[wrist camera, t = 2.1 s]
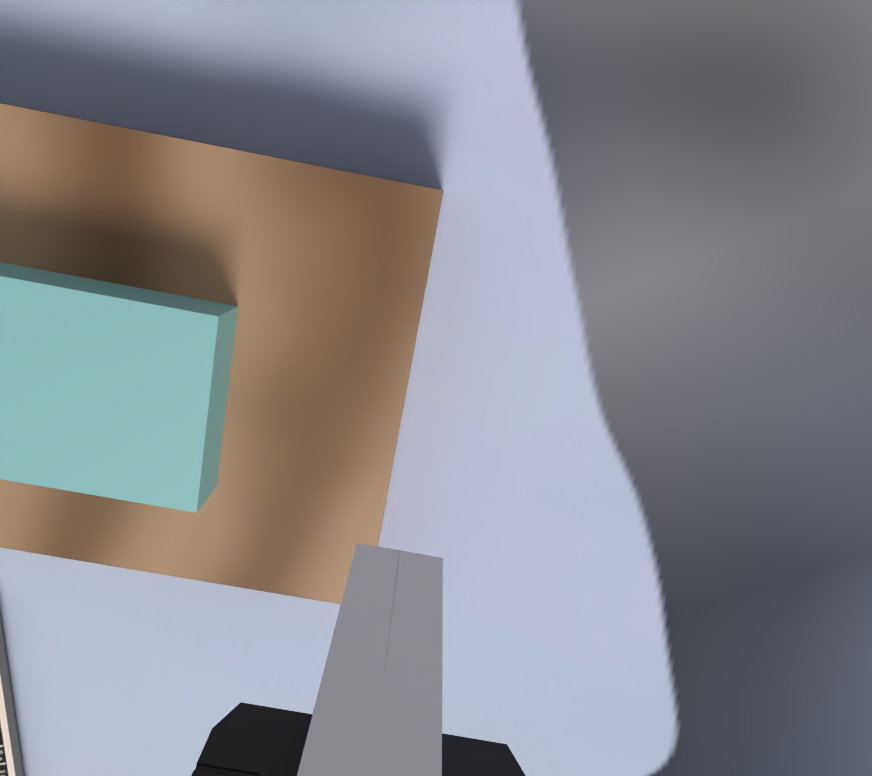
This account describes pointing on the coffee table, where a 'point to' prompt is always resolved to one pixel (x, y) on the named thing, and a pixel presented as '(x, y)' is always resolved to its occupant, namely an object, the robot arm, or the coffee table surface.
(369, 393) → the wooden board
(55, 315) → the teal rectangular block
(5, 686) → the cell phone
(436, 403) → the coffee table surface
